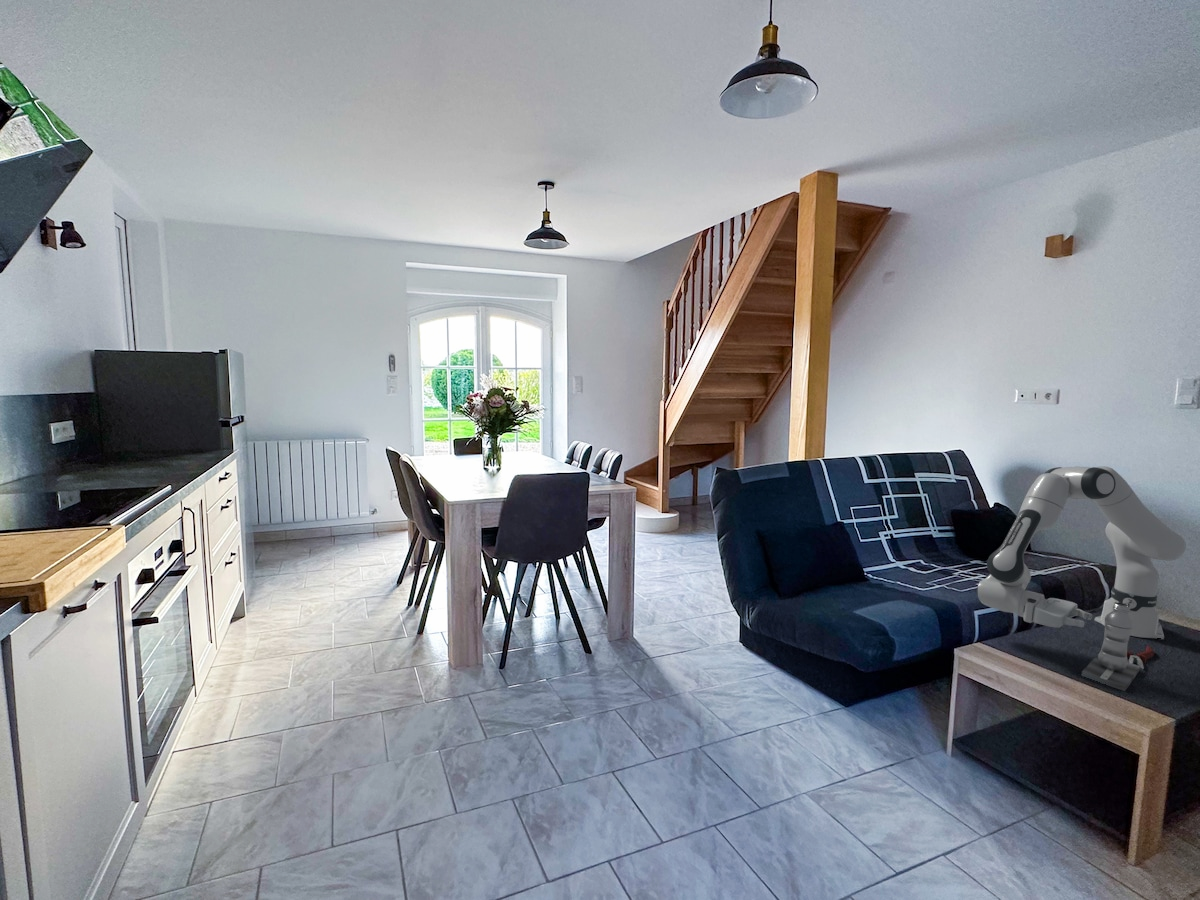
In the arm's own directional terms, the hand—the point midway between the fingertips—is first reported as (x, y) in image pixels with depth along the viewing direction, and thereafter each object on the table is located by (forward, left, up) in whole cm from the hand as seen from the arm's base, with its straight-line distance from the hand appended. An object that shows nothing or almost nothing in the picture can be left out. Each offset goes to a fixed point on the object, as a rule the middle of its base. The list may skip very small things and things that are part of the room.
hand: (1088, 620), depth 183 cm
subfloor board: (-1, +7, -14) cm, 16 cm away
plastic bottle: (-1, +7, -13) cm, 15 cm away
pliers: (-22, +7, -15) cm, 27 cm away
